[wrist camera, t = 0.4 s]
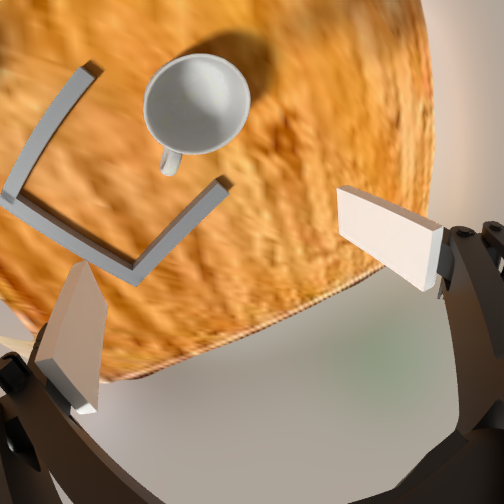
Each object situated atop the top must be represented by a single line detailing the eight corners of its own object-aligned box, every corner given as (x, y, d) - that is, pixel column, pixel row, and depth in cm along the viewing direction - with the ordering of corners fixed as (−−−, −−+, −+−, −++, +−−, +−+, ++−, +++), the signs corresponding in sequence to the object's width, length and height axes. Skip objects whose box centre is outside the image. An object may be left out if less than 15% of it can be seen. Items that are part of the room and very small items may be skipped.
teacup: (177, 38, 26) (185, 33, 20) (248, 83, 32) (273, 92, 26) (115, 135, 31) (107, 156, 25) (187, 169, 37) (197, 196, 31)
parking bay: (82, 66, 24) (79, 66, 22) (226, 189, 41) (229, 193, 40) (0, 197, 28) (-4, 202, 27) (135, 280, 45) (136, 287, 44)
